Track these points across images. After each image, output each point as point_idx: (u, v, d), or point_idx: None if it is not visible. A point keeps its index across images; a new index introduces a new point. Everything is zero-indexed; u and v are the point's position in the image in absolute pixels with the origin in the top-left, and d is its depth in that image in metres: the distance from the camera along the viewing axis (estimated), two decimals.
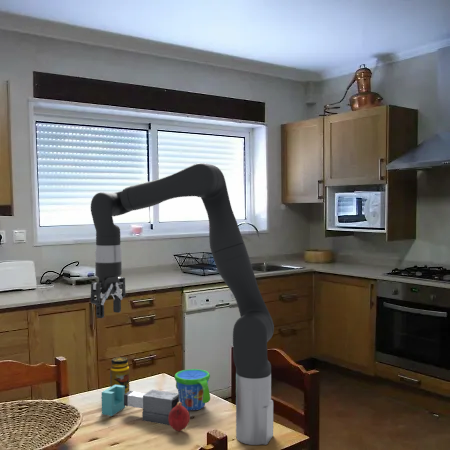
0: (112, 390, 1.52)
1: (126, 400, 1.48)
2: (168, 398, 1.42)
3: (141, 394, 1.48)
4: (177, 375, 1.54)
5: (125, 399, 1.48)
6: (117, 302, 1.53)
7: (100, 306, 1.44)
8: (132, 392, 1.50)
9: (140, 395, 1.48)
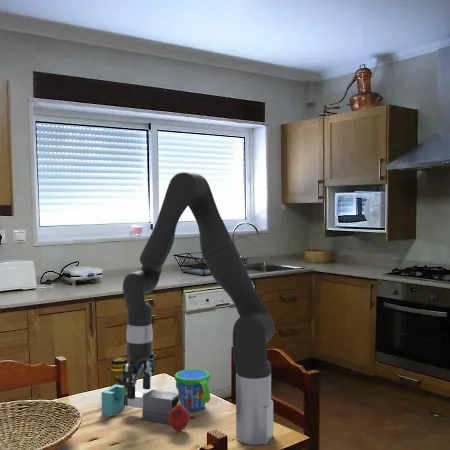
0: (112, 390, 1.52)
1: (126, 400, 1.48)
2: (168, 398, 1.42)
3: (141, 394, 1.48)
4: (177, 375, 1.54)
5: (125, 399, 1.48)
6: (147, 379, 1.52)
7: (131, 387, 1.43)
8: None
9: (140, 395, 1.48)
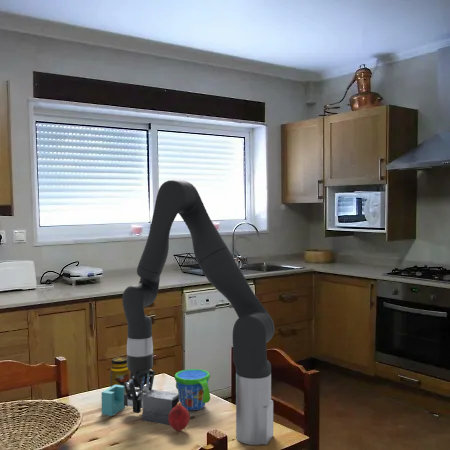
0: (112, 390, 1.52)
1: (126, 400, 1.48)
2: (168, 398, 1.42)
3: (141, 394, 1.48)
4: (177, 375, 1.54)
5: (125, 399, 1.48)
6: None
7: (137, 401, 1.45)
8: None
9: None
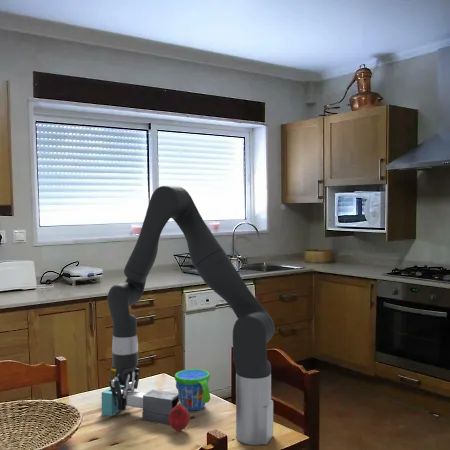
0: None
1: None
2: (168, 398, 1.42)
3: (126, 392, 1.50)
4: (177, 375, 1.54)
5: None
6: None
7: (122, 399, 1.47)
8: None
9: None
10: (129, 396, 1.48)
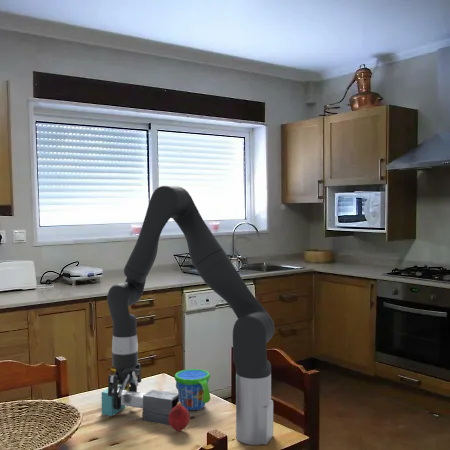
0: None
1: None
2: (168, 398, 1.42)
3: (126, 392, 1.50)
4: (177, 375, 1.54)
5: None
6: (133, 389, 1.53)
7: (117, 398, 1.45)
8: (118, 390, 1.52)
9: (125, 393, 1.49)
10: (129, 396, 1.48)
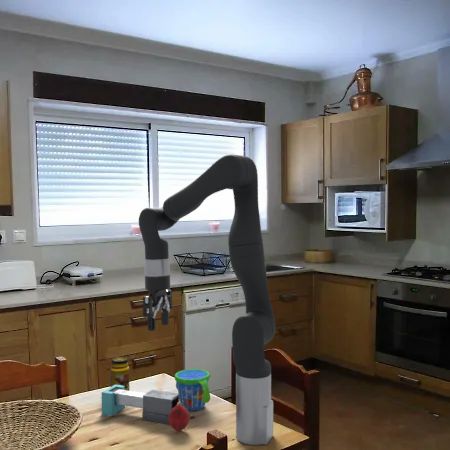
0: None
1: None
2: (168, 398, 1.42)
3: (126, 392, 1.50)
4: (177, 375, 1.54)
5: None
6: (165, 315, 1.56)
7: (152, 319, 1.47)
8: (118, 390, 1.52)
9: (125, 393, 1.49)
10: (129, 396, 1.48)
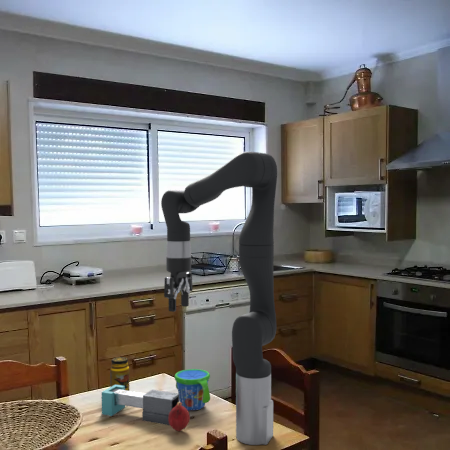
0: None
1: None
2: (168, 398, 1.42)
3: (126, 392, 1.50)
4: (177, 375, 1.54)
5: None
6: (185, 297, 1.58)
7: (173, 300, 1.49)
8: (118, 390, 1.52)
9: (125, 393, 1.49)
10: (129, 396, 1.48)
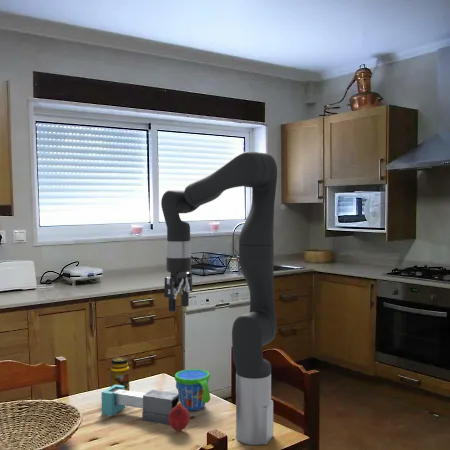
0: None
1: None
2: (168, 398, 1.42)
3: (126, 392, 1.50)
4: (177, 375, 1.54)
5: None
6: (185, 297, 1.58)
7: (173, 300, 1.49)
8: (118, 390, 1.52)
9: (125, 393, 1.49)
10: (129, 396, 1.48)
